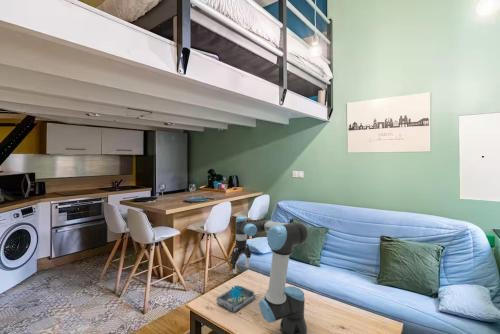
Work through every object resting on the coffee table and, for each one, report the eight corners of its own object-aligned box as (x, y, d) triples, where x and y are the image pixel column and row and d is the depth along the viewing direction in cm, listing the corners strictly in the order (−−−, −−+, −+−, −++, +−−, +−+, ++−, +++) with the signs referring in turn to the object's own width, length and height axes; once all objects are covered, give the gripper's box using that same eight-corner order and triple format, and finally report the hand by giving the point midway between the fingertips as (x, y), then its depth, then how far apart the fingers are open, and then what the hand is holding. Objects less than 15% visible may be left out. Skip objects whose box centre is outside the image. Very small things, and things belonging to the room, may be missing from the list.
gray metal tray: (256, 298, 175) (256, 292, 175) (234, 314, 157) (234, 307, 157) (238, 290, 185) (238, 284, 185) (215, 303, 167) (215, 298, 167)
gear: (226, 297, 170) (232, 282, 175) (228, 299, 174) (234, 285, 180) (240, 303, 165) (246, 288, 171) (242, 306, 169) (248, 291, 175)
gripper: (247, 234, 184) (247, 262, 184) (224, 242, 164) (224, 274, 164) (256, 235, 179) (256, 265, 180) (233, 245, 159) (233, 278, 160)
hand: (241, 269), depth 172 cm, fingers open, 13 cm apart
